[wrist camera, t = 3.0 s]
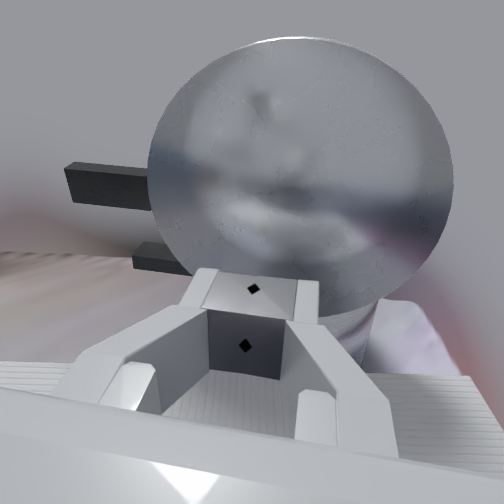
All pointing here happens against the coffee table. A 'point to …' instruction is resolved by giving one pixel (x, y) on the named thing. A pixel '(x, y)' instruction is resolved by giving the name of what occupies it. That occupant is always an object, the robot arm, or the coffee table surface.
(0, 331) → the coffee table surface
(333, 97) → the lid
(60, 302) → the coffee table surface
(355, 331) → the cooker pot
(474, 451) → the grey rectangular block
